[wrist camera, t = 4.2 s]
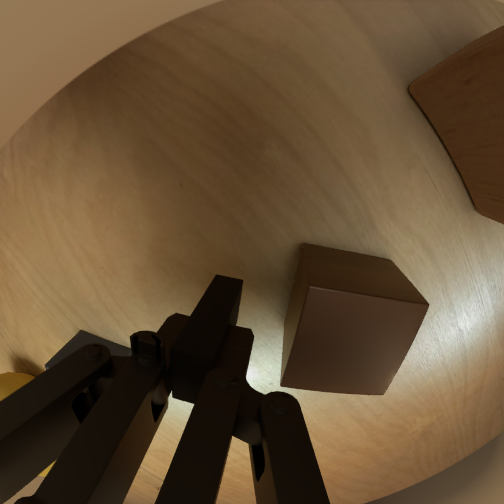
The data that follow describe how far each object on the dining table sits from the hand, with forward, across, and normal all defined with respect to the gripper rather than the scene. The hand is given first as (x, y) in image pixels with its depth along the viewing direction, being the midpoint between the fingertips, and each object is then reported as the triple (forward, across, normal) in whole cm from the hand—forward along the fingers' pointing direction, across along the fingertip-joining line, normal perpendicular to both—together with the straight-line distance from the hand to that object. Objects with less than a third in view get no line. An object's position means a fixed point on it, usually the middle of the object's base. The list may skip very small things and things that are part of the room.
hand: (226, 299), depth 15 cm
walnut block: (+3, +7, 0) cm, 7 cm away
